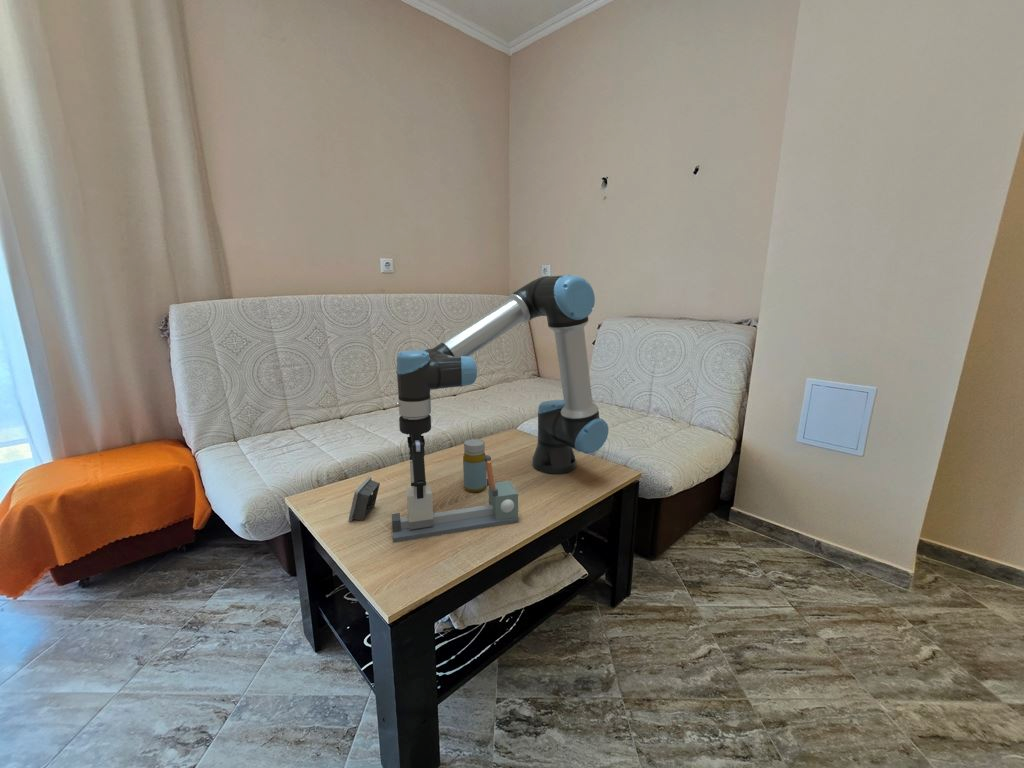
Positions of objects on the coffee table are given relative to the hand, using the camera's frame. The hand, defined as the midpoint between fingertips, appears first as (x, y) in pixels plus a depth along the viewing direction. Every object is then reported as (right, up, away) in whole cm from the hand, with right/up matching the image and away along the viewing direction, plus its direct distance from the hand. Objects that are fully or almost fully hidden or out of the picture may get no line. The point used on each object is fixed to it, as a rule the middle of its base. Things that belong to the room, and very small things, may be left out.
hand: (418, 496), depth 105 cm
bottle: (+12, -4, +24) cm, 27 cm away
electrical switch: (-17, -7, +9) cm, 21 cm away
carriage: (0, -7, +2) cm, 8 cm away
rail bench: (+9, -8, +5) cm, 13 cm away
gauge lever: (+18, +1, +6) cm, 19 cm away
